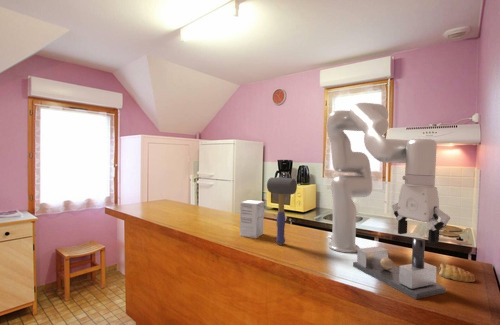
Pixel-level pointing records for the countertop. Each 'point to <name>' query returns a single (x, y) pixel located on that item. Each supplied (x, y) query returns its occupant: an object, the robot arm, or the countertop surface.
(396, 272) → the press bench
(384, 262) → the tan wooden ball
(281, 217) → the rubber mallet
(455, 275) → the pastry
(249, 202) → the supplement box
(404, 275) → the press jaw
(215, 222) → the countertop surface
